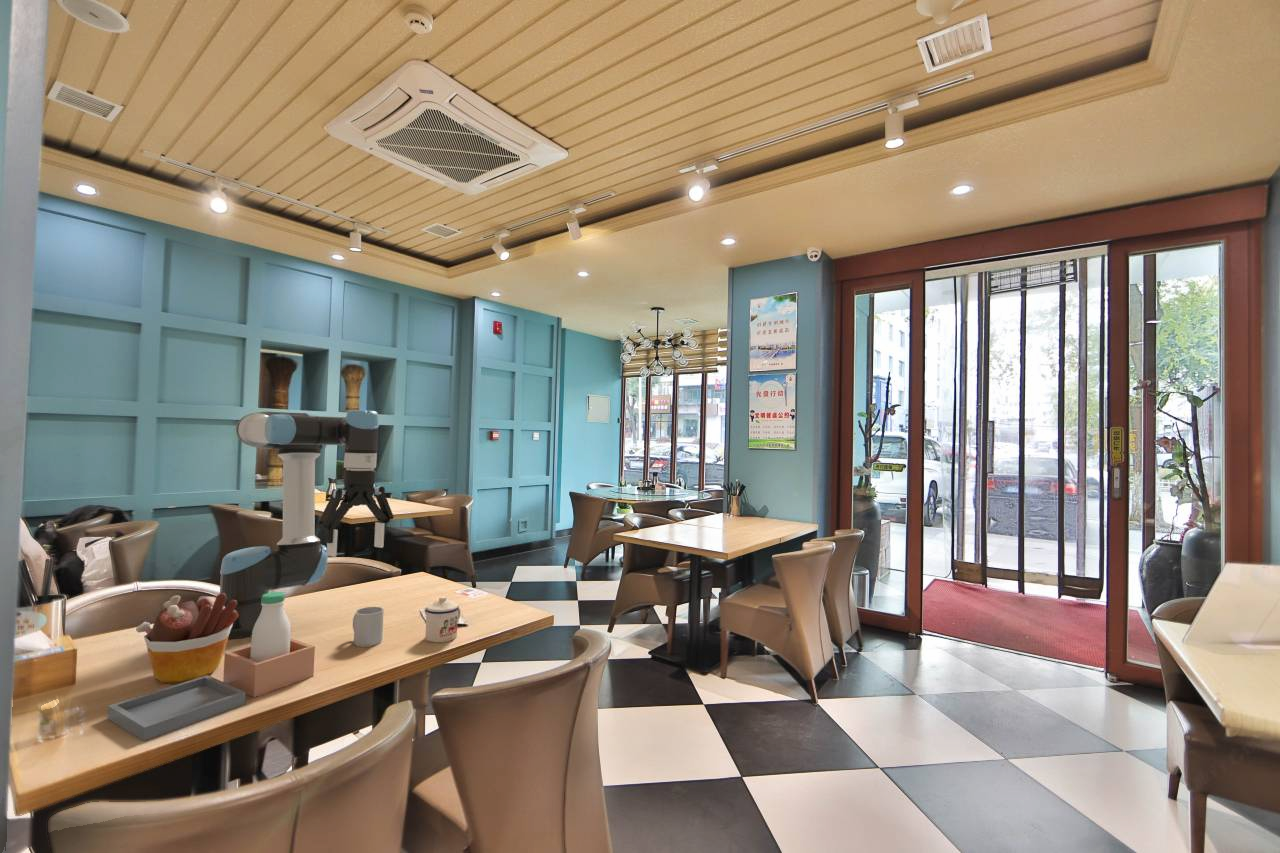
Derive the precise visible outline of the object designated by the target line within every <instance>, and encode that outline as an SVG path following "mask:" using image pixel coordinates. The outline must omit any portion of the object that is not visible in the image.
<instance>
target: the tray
mask: <svg viewBox="0 0 1280 853" xmlns="http://www.w3.org/2000/svg"><path fill="white" fill-rule="evenodd" d="M246 695H247V694H246V692H244V691H242V690H240V689H238V688H235V687H233V686H231V685H229V684H227V683H224V682H223V680H222V681H221V680H219V679H218V678H215V677H213V676H211V675H210V674H209V675H206V676H203V677H200V678H197V679H193V680H190V681H187V682H182V683H176V684H175V685H174V684H173V685H172V686H168V687H165V688H161V689H158V690H154V691H151V692H148V693H145V694H142V695H138V696H136V697H131V698H129V699H126V700H122V701H119V702H116V703H113V704H109V705H108V706H107V707H108V709H107V719H108V720H109V721H110V722H113V723H114V724H115V725H117V726H118V727H121V728H122V729H123V730H125V731H127V732H128V733H130V734H132V735H133V736H135V737H136V738H138V739H139V740H141V741H143V742H146V741H149V740H151V739H154V738H157V737H160V736H162V735H165V734H167V733H170V732H173V731H176V730H178V729H181V728H183V727H186V726H188V725H191V724H194V723H195V724H196V723H197V722H199V721H202V720H205V719H208V718H210V717H213V716H216V715H219V714H221V713H225V712H227V711H230V710H232V709H233V710H234V709H235V708H238V707H241V706H243V705H246Z"/></svg>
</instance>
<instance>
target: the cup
mask: <svg viewBox="0 0 1280 853" xmlns="http://www.w3.org/2000/svg"><path fill="white" fill-rule="evenodd" d="M352 630H353V632H354V633H353V645H356V647H358V646H359V647H358V648H369V646H370V647H374V646H377V645H379V644H381V642H382V641H383V637H384V636H383V632H384V608H383V607H380V606H367V607H361V608H358V609H356V610H355V611H354V615H353V618H352ZM373 645H374V646H373Z"/></svg>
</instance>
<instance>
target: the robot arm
mask: <svg viewBox="0 0 1280 853" xmlns="http://www.w3.org/2000/svg"><path fill="white" fill-rule="evenodd" d="M235 426H236V427H235V433H236V436H237V438H238V439H239V441H241V442H242V443H243V444H244V445H247V446H249V447H252V448H256V449H261V450H263V449H264V450H277V457H279V458H280V459H281V460H282V462H283V463H282V465H283V467H282V469H283V472H282V475H283V476H282V478H283V480H282V538H281V539H280V540H278V542H276V549H275V550H272V549H271V547H270V546H266V545H261V546H251V547H246V548H242V549H238V550H234V551H232V552H231V551H230V552H229V553H227V554H226V555H225V556H224V557H223V558H222V561H221V566H220V571H219V574H220V584H219V594H220V593H225V594H226V596H227V599H226V602H225V604H224V606H225V607H226V606H227V604H228V602H230V601H231V600H236V601H237V606H236V607H235V609H234V610H236V611H237V613H238V614H239V616H238V618H237V619H236V620H235V621H234V622H233V625H232V628H231V630H230V634H229V637H228V640H231V639H240V638H247V637H252V632H253V628H254V625H255V623H256V621H257V619H258V617H259V615H260V613H261V610H262V605H261V604H262V602H261V598H262V595H264V594H267V593H270V591H273V590H281V589H286V588H292V587H293V588H294V587H298V586H306V585H312V584H315V583H318V582H320V581H321V579H322V578H323V576H324V575H325V572H326V570H327V566H328V561H329V560H328V556H329V557H333V558H334V557H337V555H338V552H337V550H338V534H339V532H338V530H339V529H336V528H337V526H338V525H339V524H340V522H341V521H342V520H343V518H344V517H345V516H346V515H347V513H348V512H349V510H350V509H352V508H354V507H356V506H357V507H358V506H366V507H367V508H368V509H369V511H370V512H371V513H372V514H373V516H374V518H375V519H376V520H377V522H376V521H375V522H374V542H373V543H374V544H373V546H374V547H375V548H380V549H382V548H384V541H385V535H386V533H387V524H388V523H390V522H391V520H393V519H394V517H395V516H394V514H393V511H392V508H391V506H390V503H389V502H388V499H387V496H386V488H385V486H381V485H380V486H379V485H376V486H375V484H376V481H377V478H376V477H377V471H376V470H375V469H376V468H377V457H378V438H379V427H380V424H379V414H378V412H377V411H375V410H367V409H366V410H365V409H349V410H347V412H346V415H345V417H343V416H342V417H341V416H322V415H321V416H320V415H318V414H313V413H306V412H283V411H282V412H281V411H258V412H257V411H256V412H252V413H248V414H246V415H244V416H243V417H241V418H240V419H239V420H238V422H237V423H236V425H235ZM327 446H344V458H343V459H344V460H343V468H345V470H344V471H343V478H342V484H343V485H344V486H343V489H336V488H333V489H332V490H331V492H330V499H329V501H328V503H327V504H326V506H325V509H324V510H323V513H322V515H321V516H320V518H319V520H318V522H317V524H315V523H316V521H315V520H316V519H315V518H316V517H315V516H316V514H315V513H316V512H315V511H316V505H315V504H316V503H315V502H316V501H315V499H316V495H315V494H316V487H315V486H316V485H315V484H316V460H317V458H318V457H320V456H321V451H323V450H325V449H326V448H327ZM374 495H375V498H374ZM342 498H343V499H342ZM315 525H316V526H315ZM315 527H317V528H320V529H323V530H324V543H325V544H326V546H325V545H323V544H321V539H320V538H319V537H317V536H316V534H315V532H316V531H315V530H316V528H315Z"/></svg>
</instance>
